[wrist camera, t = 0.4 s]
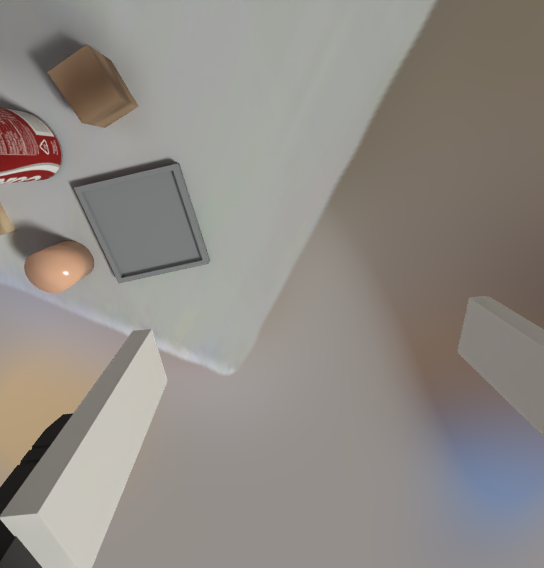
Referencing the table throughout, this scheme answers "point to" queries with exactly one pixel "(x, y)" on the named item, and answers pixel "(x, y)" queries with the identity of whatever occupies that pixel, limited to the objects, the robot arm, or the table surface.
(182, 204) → the tray
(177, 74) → the table surface
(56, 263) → the peach rounded capsule part
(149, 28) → the table surface
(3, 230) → the oak block
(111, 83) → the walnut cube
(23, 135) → the soda can
